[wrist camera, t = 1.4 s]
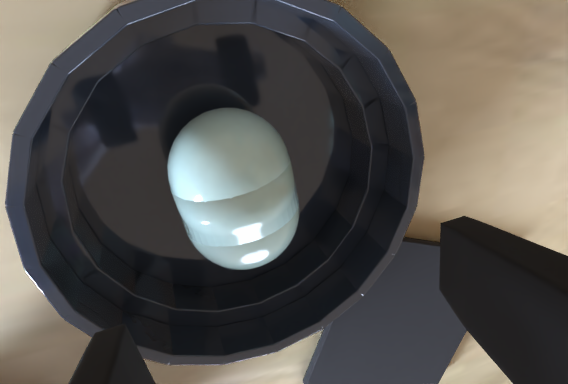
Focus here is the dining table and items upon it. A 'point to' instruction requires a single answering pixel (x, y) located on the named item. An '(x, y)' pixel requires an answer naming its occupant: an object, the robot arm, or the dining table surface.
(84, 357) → the robot arm
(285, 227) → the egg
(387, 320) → the mat
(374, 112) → the basin
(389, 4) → the dining table surface
